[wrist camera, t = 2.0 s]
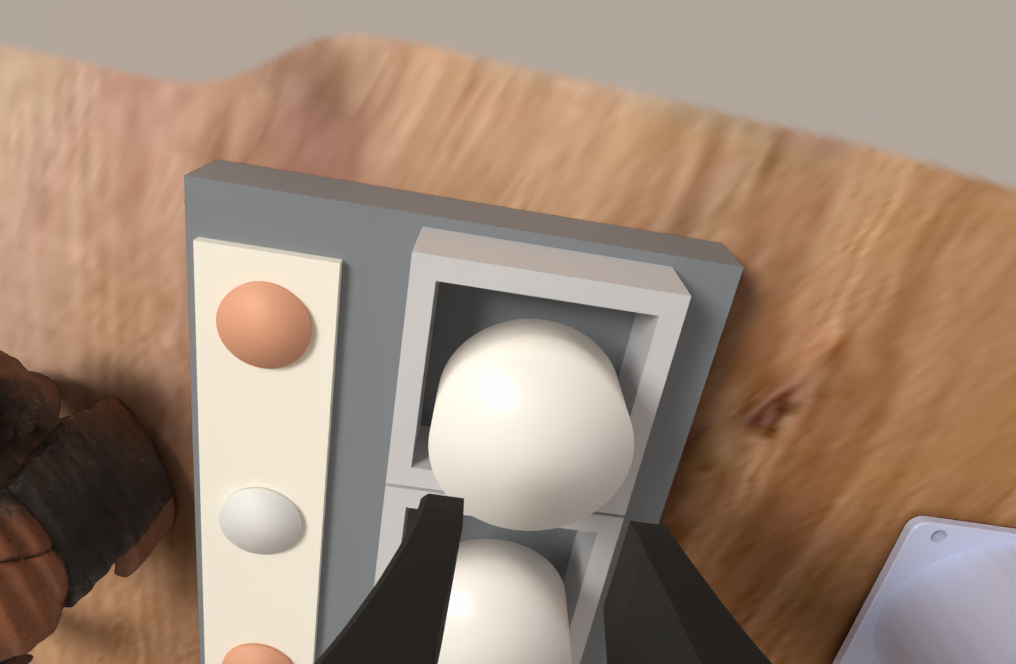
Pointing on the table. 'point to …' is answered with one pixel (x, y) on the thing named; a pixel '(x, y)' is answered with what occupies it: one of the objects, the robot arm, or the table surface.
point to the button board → (401, 384)
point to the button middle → (505, 607)
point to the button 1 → (530, 426)
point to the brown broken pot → (68, 503)
